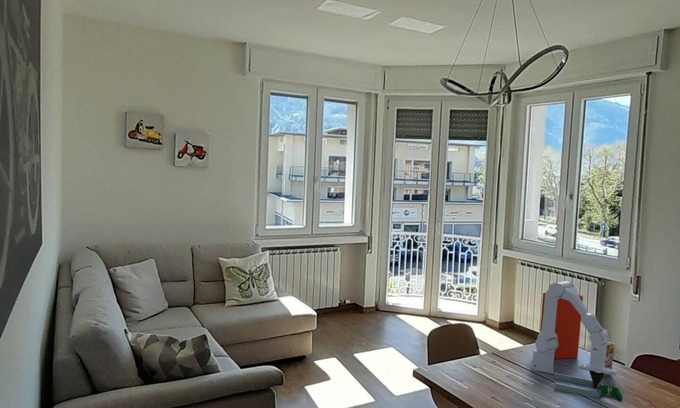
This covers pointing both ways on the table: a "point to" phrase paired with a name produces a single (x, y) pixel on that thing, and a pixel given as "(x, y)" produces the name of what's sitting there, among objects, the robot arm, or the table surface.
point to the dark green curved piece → (610, 391)
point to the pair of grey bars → (573, 388)
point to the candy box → (609, 356)
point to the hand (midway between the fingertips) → (594, 388)
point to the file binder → (565, 328)
